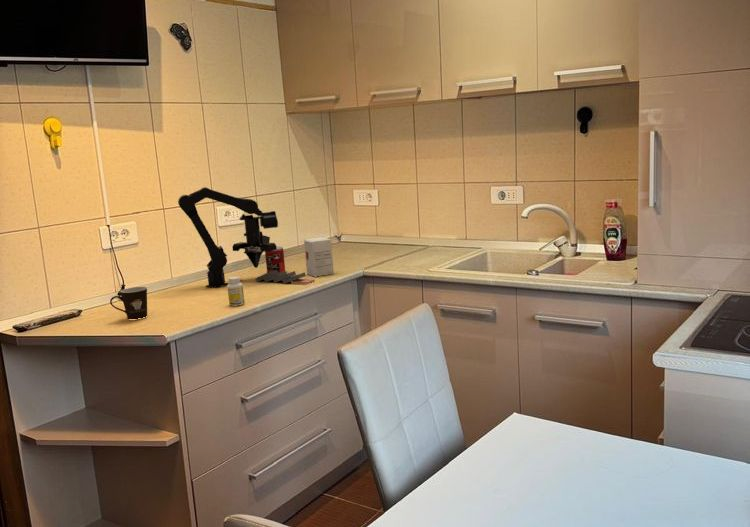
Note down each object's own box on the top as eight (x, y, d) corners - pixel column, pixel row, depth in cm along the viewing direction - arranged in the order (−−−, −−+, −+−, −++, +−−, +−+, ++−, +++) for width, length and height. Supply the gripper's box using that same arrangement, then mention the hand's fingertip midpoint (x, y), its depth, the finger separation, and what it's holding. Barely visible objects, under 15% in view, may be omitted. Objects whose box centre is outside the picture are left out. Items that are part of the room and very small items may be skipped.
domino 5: (291, 285, 278) (308, 286, 275) (290, 281, 278) (307, 282, 274) (298, 282, 283) (314, 283, 279) (297, 278, 282) (314, 279, 279)
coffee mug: (153, 313, 244) (149, 286, 242) (146, 320, 236) (142, 291, 234) (120, 316, 244) (116, 288, 242) (111, 323, 236) (107, 294, 234)
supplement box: (306, 274, 295) (303, 239, 292) (325, 271, 299) (322, 236, 296) (314, 277, 287) (311, 241, 284) (334, 274, 291) (331, 238, 288)
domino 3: (274, 283, 282) (288, 277, 277) (273, 279, 282) (287, 273, 277) (282, 280, 286) (296, 274, 282) (280, 276, 286) (294, 270, 282)
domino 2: (265, 282, 284) (279, 276, 280) (263, 278, 284) (277, 273, 280) (272, 279, 289) (286, 274, 284) (271, 276, 289) (285, 270, 284)
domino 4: (283, 283, 280) (298, 278, 275) (282, 279, 280) (297, 274, 275) (291, 280, 284) (306, 276, 280) (289, 277, 284) (304, 272, 280)
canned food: (263, 274, 301) (261, 249, 299) (274, 270, 308) (272, 246, 306) (278, 275, 298) (275, 249, 296) (288, 271, 304) (286, 246, 302)
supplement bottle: (238, 302, 253) (235, 275, 251) (247, 303, 250) (245, 276, 248) (226, 305, 249) (223, 278, 247) (236, 307, 246) (233, 279, 244)
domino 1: (256, 281, 287) (270, 275, 282) (255, 278, 287) (269, 272, 282) (264, 279, 291) (278, 273, 287) (263, 275, 291) (276, 269, 287)
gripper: (282, 227, 288) (286, 264, 291) (246, 227, 297) (250, 263, 300) (266, 231, 278) (270, 269, 281) (229, 231, 287) (233, 268, 290)
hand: (256, 267), depth 288 cm, fingers closed
